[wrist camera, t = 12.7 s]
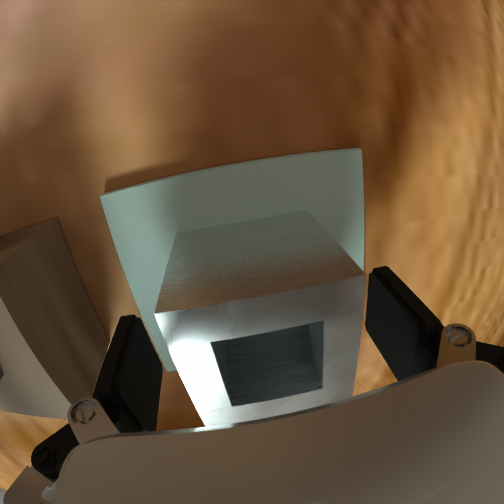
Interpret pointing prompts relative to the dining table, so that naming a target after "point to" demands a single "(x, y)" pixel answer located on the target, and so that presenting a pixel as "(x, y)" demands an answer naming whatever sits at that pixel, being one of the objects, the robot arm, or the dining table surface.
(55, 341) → the post
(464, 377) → the robot arm
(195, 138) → the dining table surface
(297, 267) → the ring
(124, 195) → the mat
